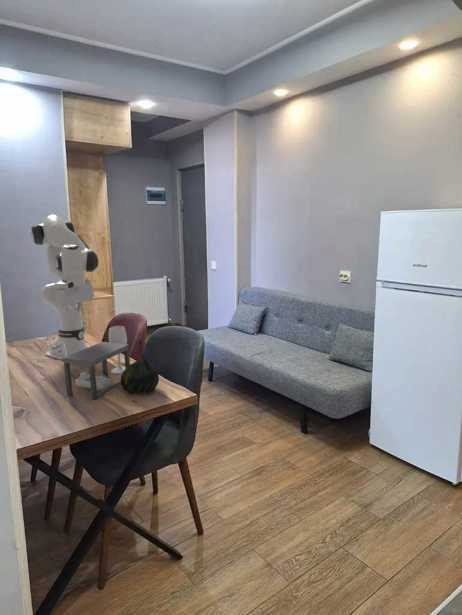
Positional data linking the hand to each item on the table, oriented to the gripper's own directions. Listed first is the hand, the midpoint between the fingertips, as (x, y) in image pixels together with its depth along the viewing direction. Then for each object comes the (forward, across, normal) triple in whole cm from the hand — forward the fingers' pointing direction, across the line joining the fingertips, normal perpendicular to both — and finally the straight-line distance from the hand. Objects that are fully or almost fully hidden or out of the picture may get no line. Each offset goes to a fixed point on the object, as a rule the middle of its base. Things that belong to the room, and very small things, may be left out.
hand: (77, 312), depth 188 cm
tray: (+29, +10, +14) cm, 34 cm away
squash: (+29, +8, +37) cm, 48 cm away
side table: (+29, +10, +18) cm, 36 cm away
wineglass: (+29, -9, +14) cm, 34 cm away
